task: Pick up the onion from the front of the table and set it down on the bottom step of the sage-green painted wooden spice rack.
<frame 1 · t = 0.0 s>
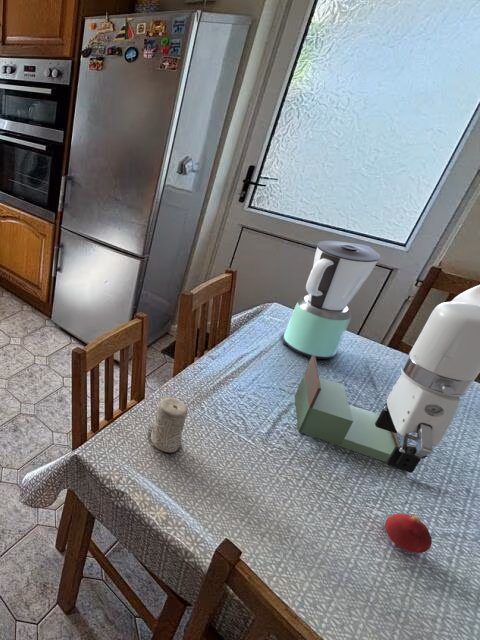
hand: (391, 447, 75), 18 cm above the table, tool pointing down, fingers open, 9 cm apart
juicer: (305, 349, 129), on the table
onion: (398, 545, 77), on the table
carving: (163, 444, 98), on the table
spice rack: (341, 427, 101), on the table
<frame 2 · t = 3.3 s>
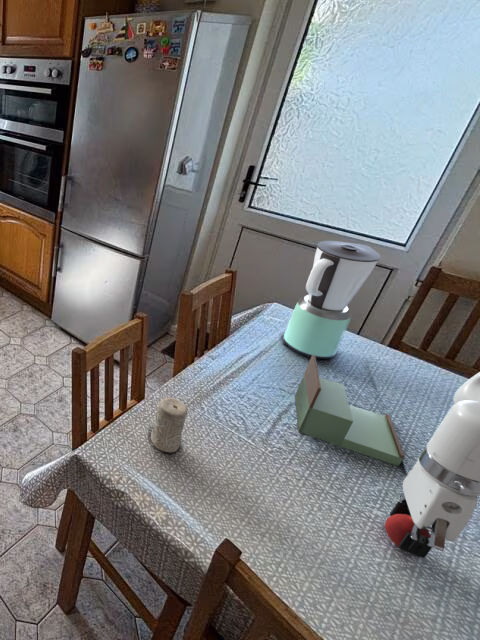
hand: (405, 535, 75), 3 cm above the table, tool pointing down, fingers closed on onion, 5 cm apart
onion: (398, 545, 77), on the table, touching gripper
everything else where it was.
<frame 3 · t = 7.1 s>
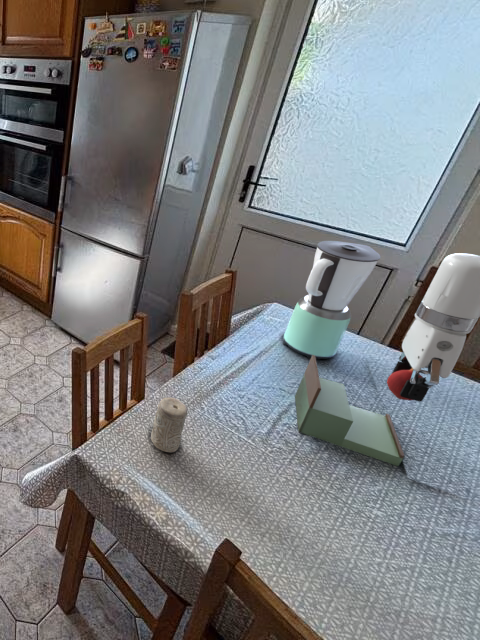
hand: (405, 387, 87), 19 cm above the table, tool pointing down, fingers closed on onion, 5 cm apart
onion: (399, 399, 88), point 16 cm above the table, touching gripper
everything else where it was.
when the fingers open (5 cm above the table, at t = 11.2 s): onion stays where it is, resting on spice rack.
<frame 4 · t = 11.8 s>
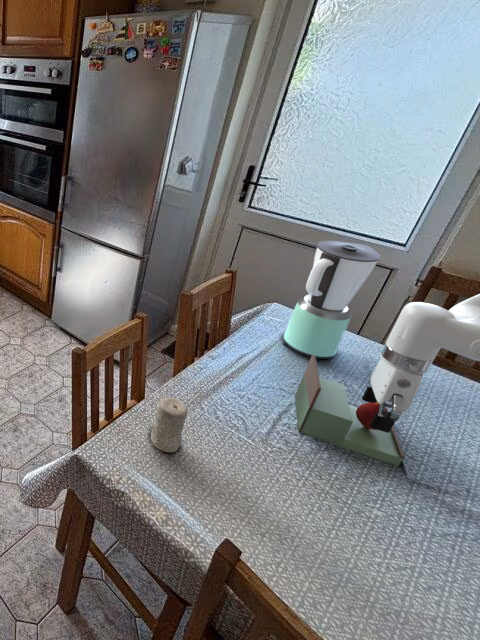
hand: (374, 415, 96), 7 cm above the table, tool pointing down, fingers open, 9 cm apart
onion: (366, 428, 98), point 2 cm above the table, touching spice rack
everything else where it was.
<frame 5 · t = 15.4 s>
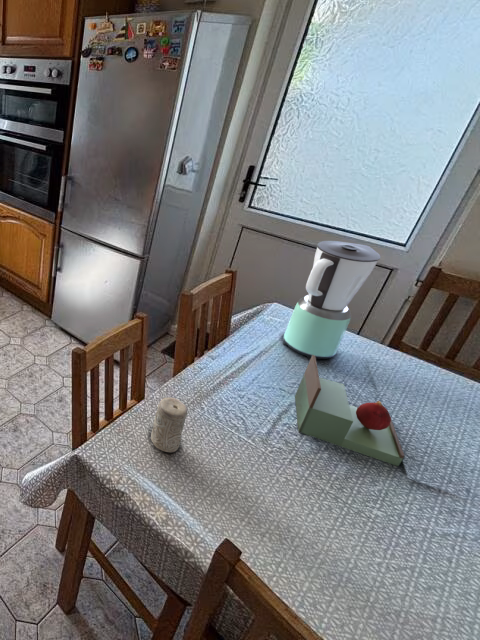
nothing on the table moved.
at the end: onion inside the target area on the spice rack (0.1 cm from its centre), point 2.3 cm above the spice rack's base; the gripper is holding nothing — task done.
